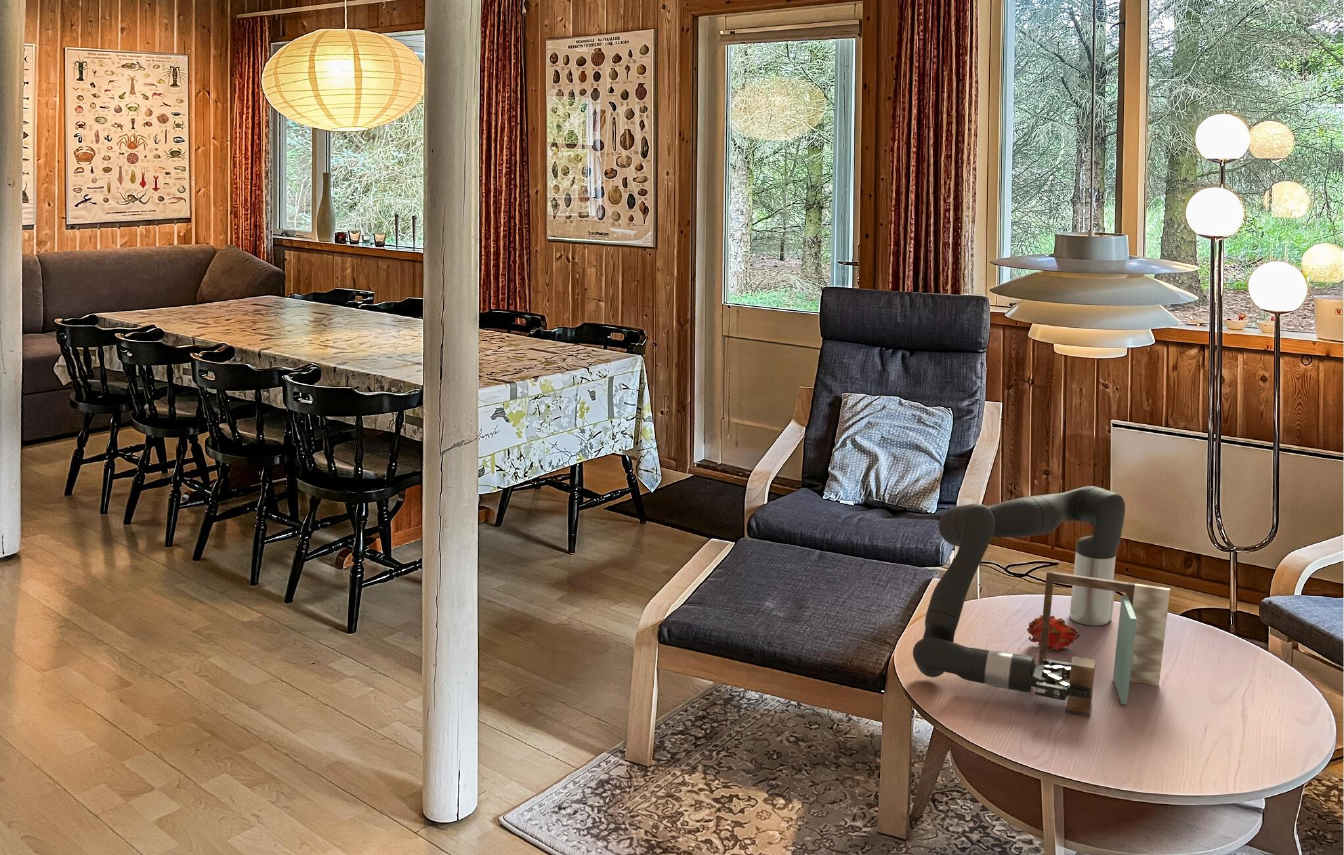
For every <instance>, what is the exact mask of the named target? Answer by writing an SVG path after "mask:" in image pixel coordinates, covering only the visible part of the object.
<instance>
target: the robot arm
mask: <svg viewBox="0 0 1344 855" xmlns="http://www.w3.org/2000/svg"><path fill="white" fill-rule="evenodd" d="M1125 513H1126V504H1125V500H1124V498H1123V497H1122V495H1120V494H1119V493H1117V492H1114V491H1112V490H1111V491H1110V490H1109V489H1105V488H1102V487H1099V486H1094V485H1087V486H1082V487H1077V488H1076V489H1075V488H1074V489H1070V490H1068V491H1064V492H1059V493H1058V492H1057V493H1048V494H1039V495H1037V494H1036V495H1031V496H1024V497H1018V498H1013V499H1009V500H1004V501H1002V502H998V503H997V502H996V503H995V504H994V503H993V504H992V505H984V504H982V503H970V504H965V505H955V506H953V507H951V508H949V509H947V510H946V511H944V513H943V514H942V515H941V516H940V519H939V522H938V531H939V534H940V536H941V537H942V539H943V540H944V541H945V542H946V543H948V544H950V545H951V546H954V547H958V549H957V553H956V555H955V556H954V559H953V560H952V562H951V563H950V565H949V567H948V568H947V570H946V571H945V573H944V574H943V575H942V577H941V578H939V581H938V582H937V584H936V586H935V587H934V589H933V592H932V594H931V597H930V600H929V604H928V607H927V611H926V614H925V619H924V627H925V628H924V633H923V636H922V637H923V638H921V639H920V640H917V642H916V643H914V646H913V649H912V658H913V660H914V662H915V664H916V667H917V669H918V671H920V672H921V674H922V675H924V676H926V677H928V678H937V677H940V676H941V675H943V674H944V673H947V674H952V675H956V676H958V677H959V678H960V679H963V680H964V681H969V682H973V683H978V684H986V685H989V686H992V687H995V688H1000V689H1005V690H1010V691H1017V692H1021V693H1022V692H1023V693H1026V694H1027V693H1028V694H1029V693H1031V692H1032V689H1033V688H1035V690H1034V692H1035V693H1034V694H1035V696H1038V697H1044V698H1049V699H1054V700H1058V701H1059V700H1060V701H1067V698H1068V697H1070V696H1074V697H1080V698H1085V699H1089V698H1090V692H1091V689H1090V688H1089V687H1083V686H1078V685H1072V686H1071V685H1070V684H1069V682H1065V681H1069V678H1070V668H1071V662H1067V661H1060V660H1055V659H1049V658H1046V659H1043V665H1038V664H1036V659H1035V657H1033V656H1030V655H1025V654H1018V653H1013V652H1007V651H1002V650H1001V651H999V650H989V649H988V650H987V649H982V648H976V647H969V646H965V645H962V644H959V643H956V642H954V640H955V634H956V630H957V627H958V624H959V621H960V618H961V615H962V610H963V607H964V604H965V600H966V597H967V596H968V592H969V589H970V586H971V583H972V581H973V579H974V577H975V575H976V573H977V570H978V568H979V567H980V564H981V562H982V560H983V558H984V555H985V553H986V551H987V549H988V547H989V545H990V543H991V540H992V539H994V538H996V539H997V538H1004V539H1005V538H1028V537H1035V536H1040V535H1046V534H1049V533H1052V532H1054V531H1055V530H1056V529H1057V528H1058V527H1059V526H1060V525H1061V523H1064V522H1065V523H1066V522H1082V523H1085V524H1088V525H1090V526H1093V527H1094V529H1093V535H1087V536H1081V537H1080V538H1078V539H1077V541H1076V544H1075V545H1076V546H1075V547H1076V548H1075V556H1074V567H1073V568H1074V570H1073V575H1079V576H1086V577H1093V578H1100V579H1107V580H1114V575H1115V567H1116V566H1115V565H1116V558H1117V550H1118V547H1119V545H1120V544H1121V538H1122V533H1123V526H1124V520H1125V516H1126V515H1125ZM1115 594H1116V591H1109V590H1103V589H1096V588H1089V587H1082V586H1075V585H1072V588H1071V599H1070V608H1069V618H1070V619H1071V620H1072V621H1074V622H1075V623H1078V624H1082V625H1087V626H1094V627H1095V626H1096V627H1097V626H1105V625H1107V624H1108V623H1109V622H1110V621H1112V620H1113V612H1114V604H1115V603H1114V602H1115Z"/></svg>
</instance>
